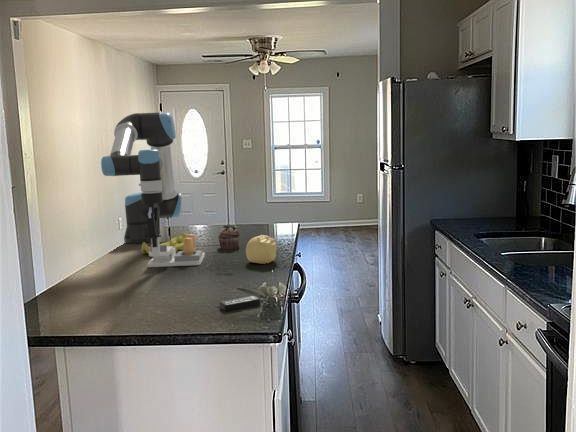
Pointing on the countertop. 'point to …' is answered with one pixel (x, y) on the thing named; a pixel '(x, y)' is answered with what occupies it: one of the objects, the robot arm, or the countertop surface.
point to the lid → (163, 250)
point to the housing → (178, 257)
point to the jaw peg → (188, 246)
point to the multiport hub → (239, 303)
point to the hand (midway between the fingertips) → (156, 255)
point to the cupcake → (229, 237)
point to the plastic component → (168, 244)
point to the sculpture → (261, 249)
